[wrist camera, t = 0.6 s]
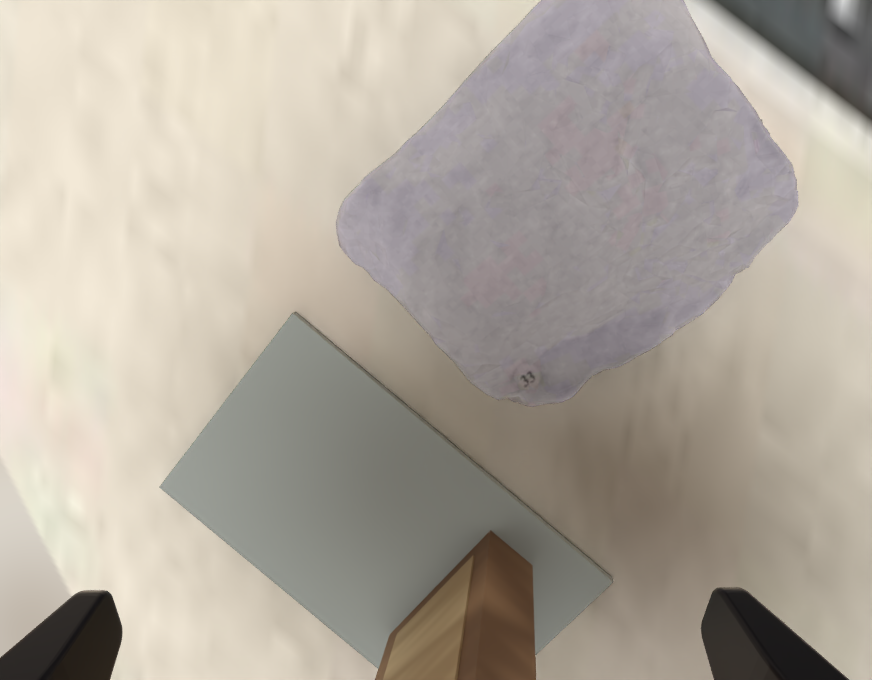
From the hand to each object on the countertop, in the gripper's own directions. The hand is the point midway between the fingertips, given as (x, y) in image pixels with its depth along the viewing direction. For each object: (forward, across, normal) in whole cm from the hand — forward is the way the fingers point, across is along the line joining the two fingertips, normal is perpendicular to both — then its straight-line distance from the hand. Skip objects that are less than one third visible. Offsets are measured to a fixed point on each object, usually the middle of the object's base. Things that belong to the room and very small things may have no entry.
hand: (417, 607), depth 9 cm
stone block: (+14, -5, -2) cm, 15 cm away
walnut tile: (+9, -2, +12) cm, 15 cm away
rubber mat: (+11, +1, +10) cm, 15 cm away
